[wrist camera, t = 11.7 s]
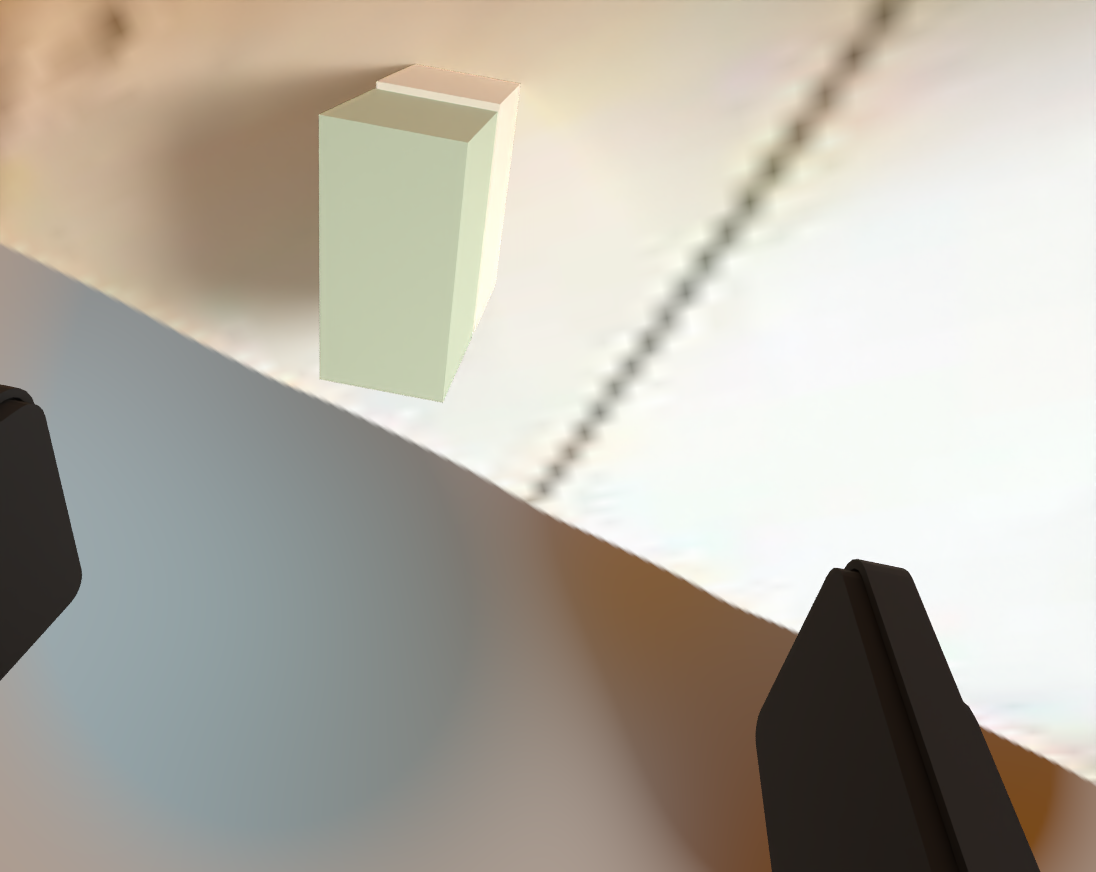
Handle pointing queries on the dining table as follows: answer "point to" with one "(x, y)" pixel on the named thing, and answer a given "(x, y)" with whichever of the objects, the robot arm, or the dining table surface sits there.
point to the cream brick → (505, 102)
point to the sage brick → (400, 239)
